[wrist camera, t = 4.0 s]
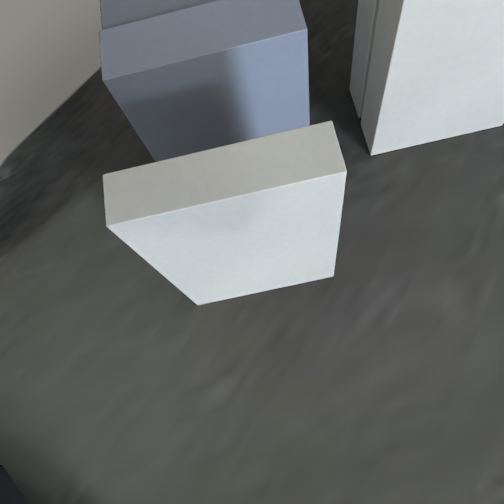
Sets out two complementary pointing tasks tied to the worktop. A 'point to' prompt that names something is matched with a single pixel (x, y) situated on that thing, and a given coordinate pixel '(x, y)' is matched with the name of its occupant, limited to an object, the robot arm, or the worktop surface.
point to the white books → (427, 70)
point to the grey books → (205, 70)
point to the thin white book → (235, 213)
